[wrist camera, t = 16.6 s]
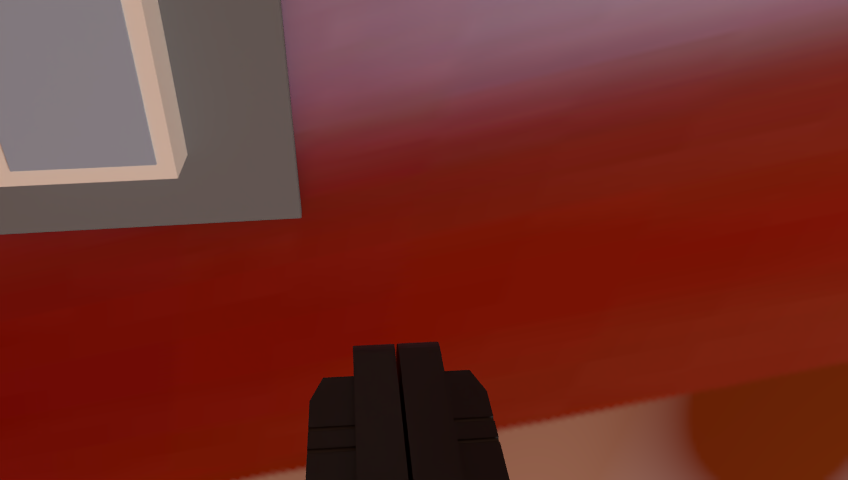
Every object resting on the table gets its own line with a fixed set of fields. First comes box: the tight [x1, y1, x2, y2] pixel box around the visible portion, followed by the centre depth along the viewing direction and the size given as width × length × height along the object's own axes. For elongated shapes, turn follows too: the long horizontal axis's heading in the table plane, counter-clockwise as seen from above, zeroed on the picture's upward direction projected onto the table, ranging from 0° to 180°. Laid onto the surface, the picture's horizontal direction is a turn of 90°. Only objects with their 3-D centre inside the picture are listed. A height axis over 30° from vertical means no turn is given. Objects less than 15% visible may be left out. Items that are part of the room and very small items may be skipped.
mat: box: [0, 0, 301, 234], centre depth 27 cm, size 16×14×1 cm
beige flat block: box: [0, 0, 188, 187], centre depth 26 cm, size 9×2×7 cm
